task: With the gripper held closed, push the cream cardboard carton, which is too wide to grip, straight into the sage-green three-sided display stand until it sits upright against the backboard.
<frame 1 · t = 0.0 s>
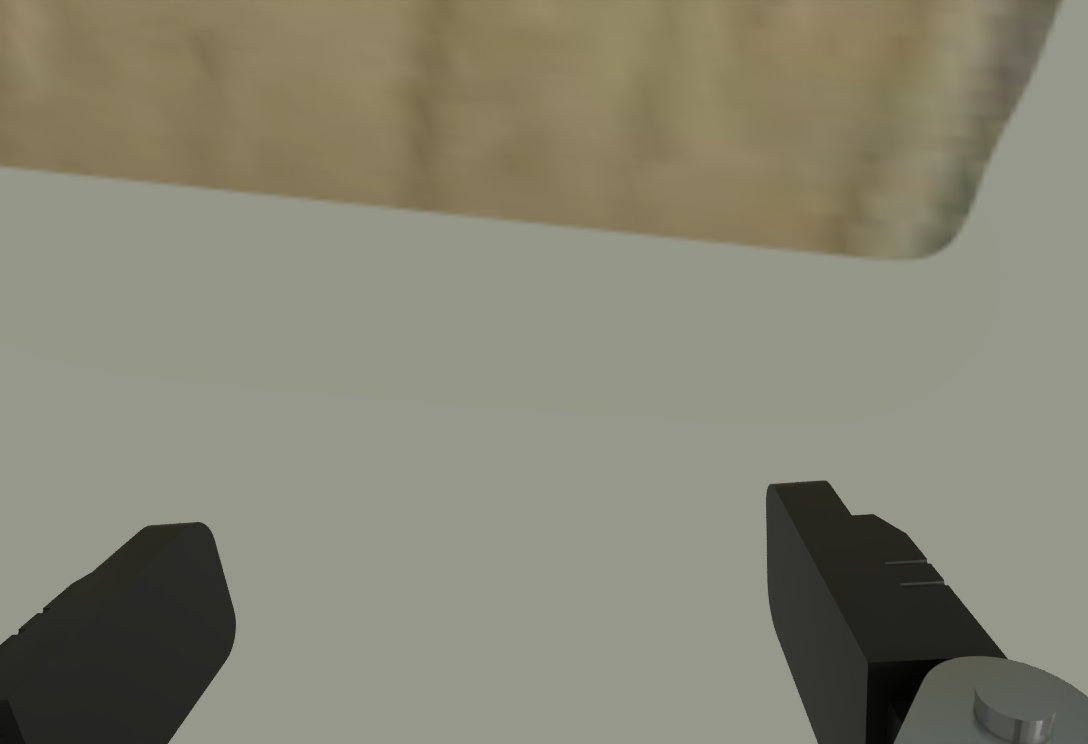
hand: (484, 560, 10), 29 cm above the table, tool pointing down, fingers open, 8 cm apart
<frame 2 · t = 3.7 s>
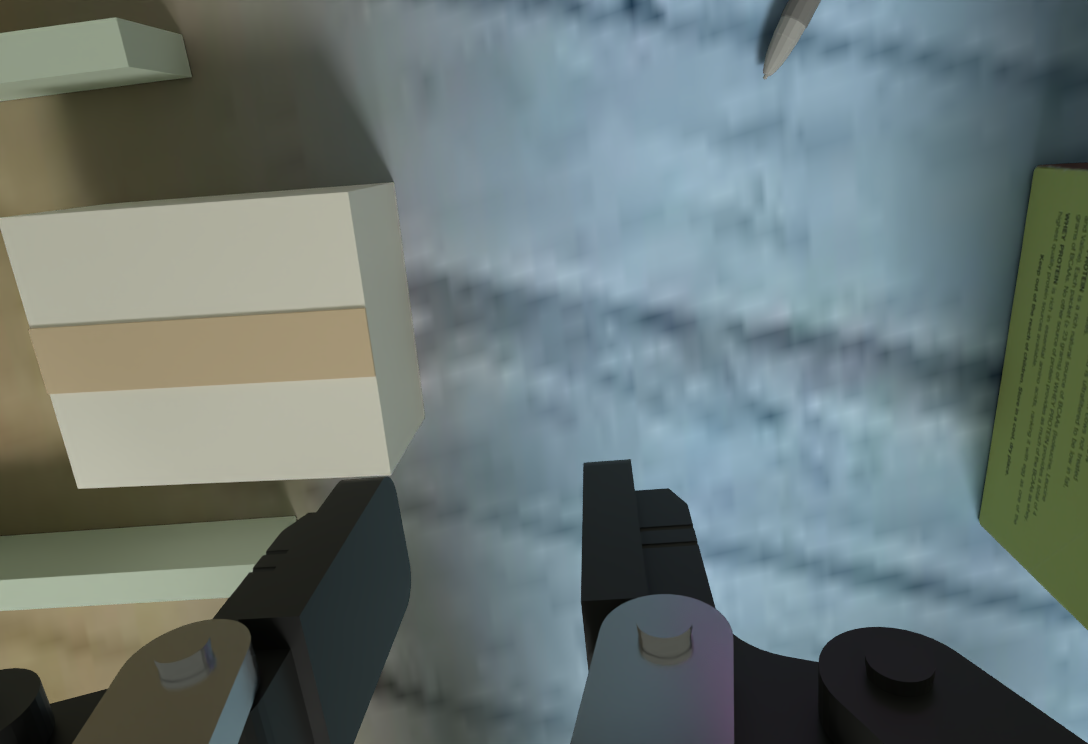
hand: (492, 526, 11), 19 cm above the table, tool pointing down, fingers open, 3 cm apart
carton: (273, 312, 31), on the table
display stand: (93, 331, 31), on the table
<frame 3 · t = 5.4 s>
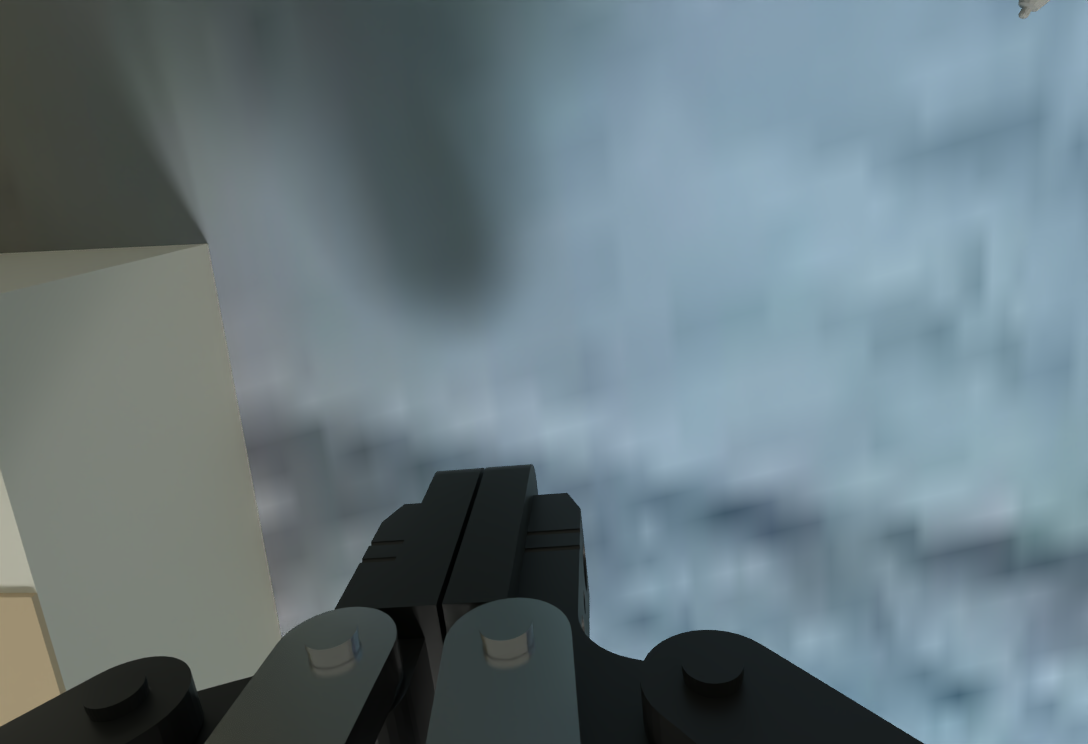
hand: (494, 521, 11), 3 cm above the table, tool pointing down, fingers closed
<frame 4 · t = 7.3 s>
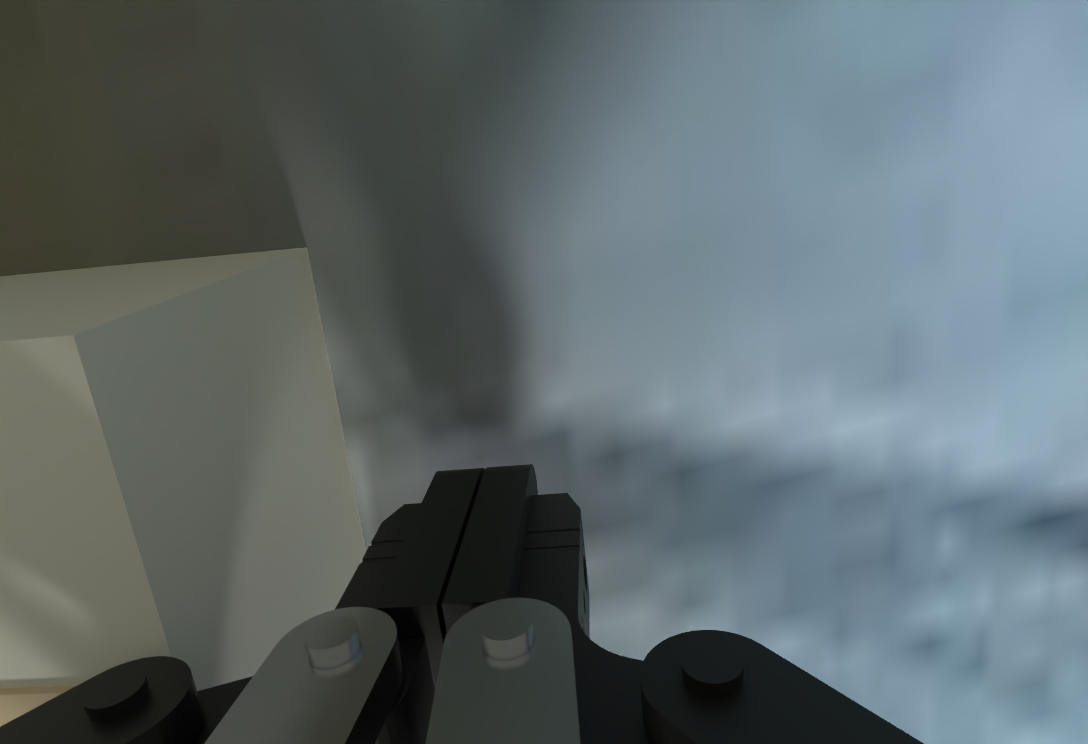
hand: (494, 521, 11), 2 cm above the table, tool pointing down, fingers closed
carton: (70, 525, 14), on the table
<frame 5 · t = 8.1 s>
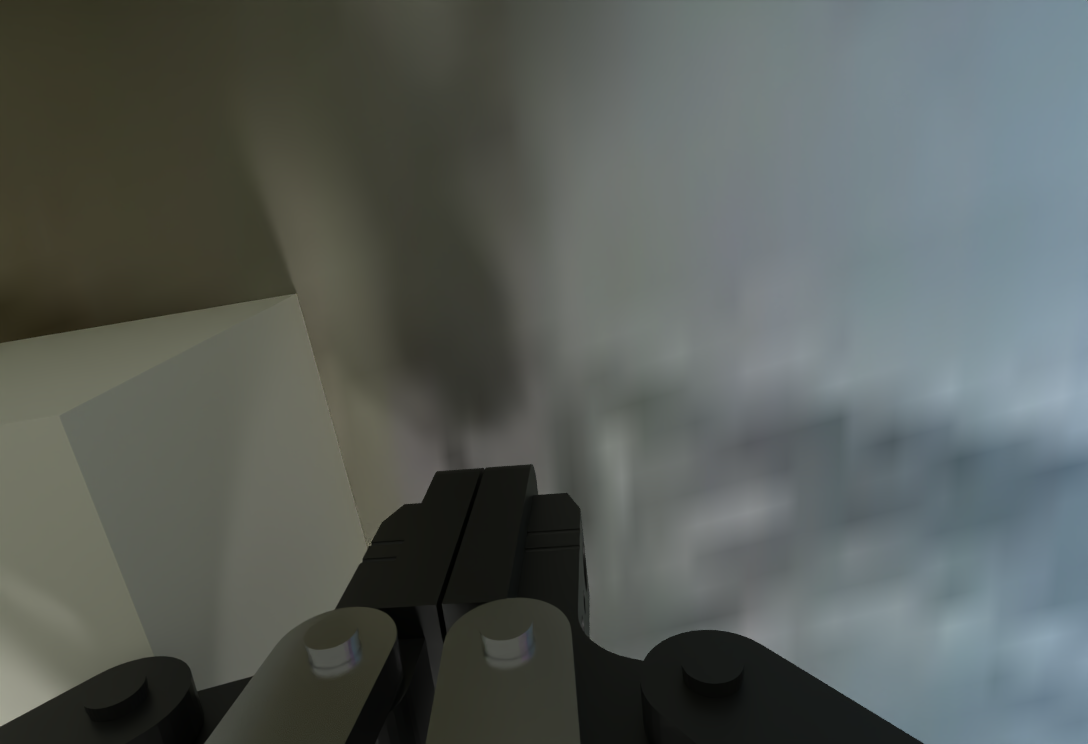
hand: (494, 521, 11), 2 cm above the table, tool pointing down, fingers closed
carton: (86, 580, 14), on the table, touching gripper
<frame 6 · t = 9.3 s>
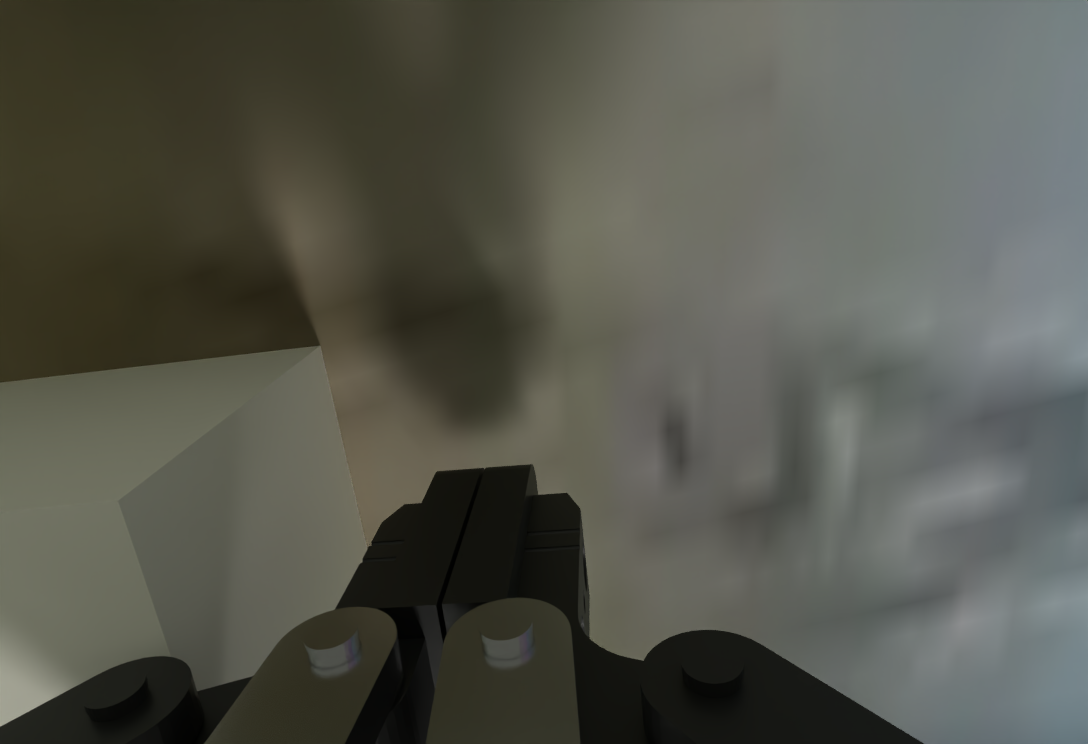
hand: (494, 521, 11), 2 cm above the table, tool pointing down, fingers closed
carton: (98, 608, 15), on the table
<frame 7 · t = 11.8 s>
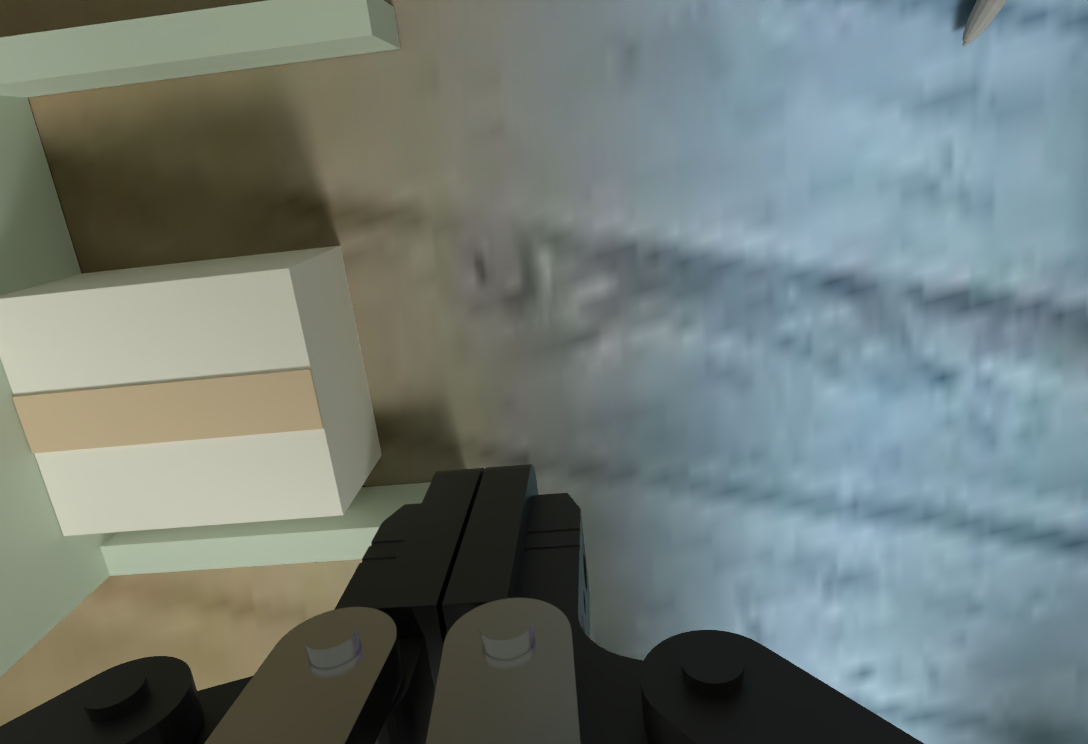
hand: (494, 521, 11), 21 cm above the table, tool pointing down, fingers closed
carton: (238, 365, 34), on the table
display stand: (284, 298, 32), on the table
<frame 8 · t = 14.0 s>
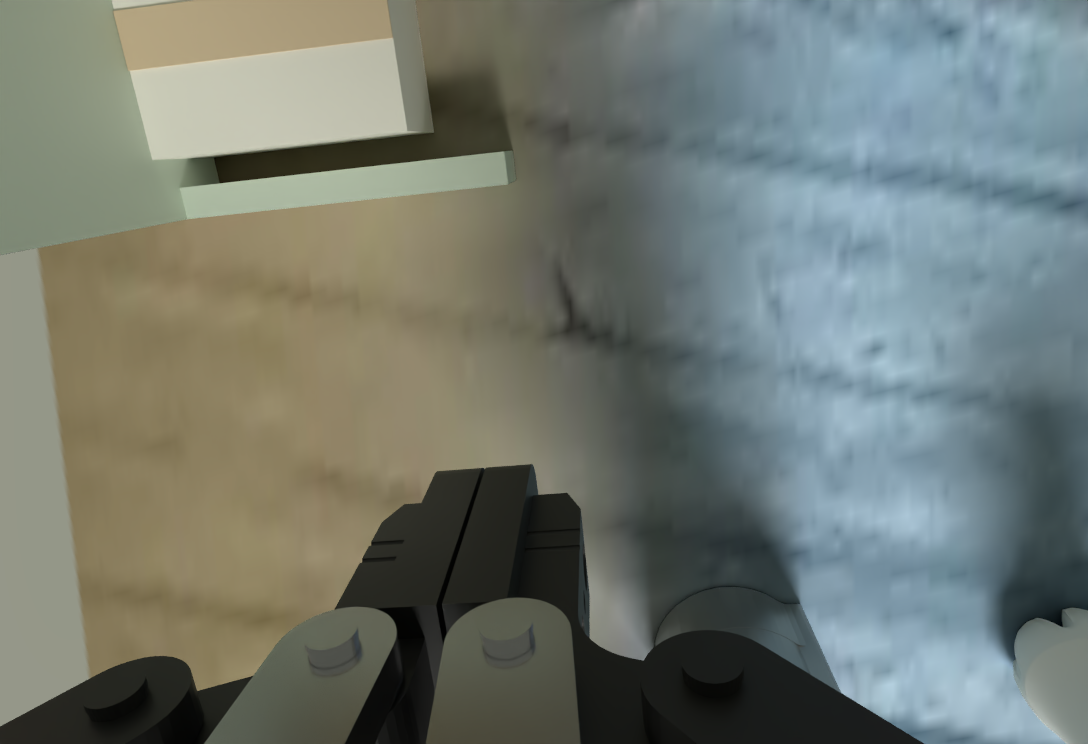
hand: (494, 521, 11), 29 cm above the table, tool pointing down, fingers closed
carton: (305, 43, 37), on the table
water bottle: (1054, 642, 45), on the table
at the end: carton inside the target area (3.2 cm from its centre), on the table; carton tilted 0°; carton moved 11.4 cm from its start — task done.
